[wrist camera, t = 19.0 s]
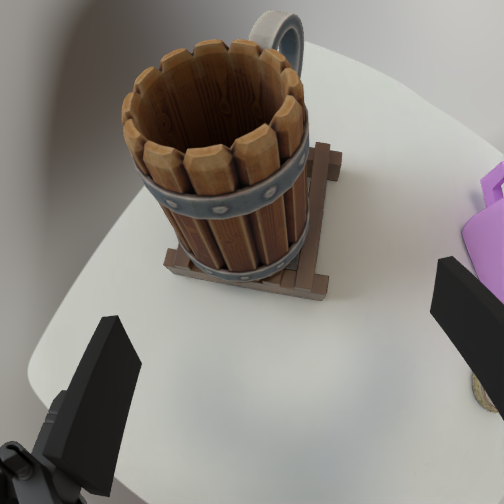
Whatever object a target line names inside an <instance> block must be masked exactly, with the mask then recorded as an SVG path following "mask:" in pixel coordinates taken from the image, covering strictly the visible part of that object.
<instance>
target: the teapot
mask: <svg viewBox="0 0 504 504" xmlns="http://www.w3.org/2000/svg"><path fill="white" fill-rule="evenodd" d="M480 181H481V186H482V190H483V195H484V200H485V205H486V208H485V209H483V210H482V211H480V212H479V213H477V214H476V215H475V216H473V217H472V218H471V219H470V220H469V221H468V222H467V223H466V225H465V227H464V228H463V231H462V235H463V239H464V242H465V244H466V247H467V250H468V252H469V255H470V258H471V260H472V263H473V265H474V268H475V270H476V273H477V275H478V278H479V280H480V282H481V283H482V284H484V285H485V286H486V287H487V288H488V289H489V290H490V291H491V292H492V293H493V294H494V295H495V296H496V297H497V298H498V299H499V300H500V301H501V302H502V303H503V304H504V197H503V192H502V188H501V185H502V184H503V183H504V161H502V162H501V163H500V164H499V165H497V166H496V167H495V168H494V169H493V170H492V171H490V172H489V173H488V174H487V175H486V176H485V177H483V178H482V179H481V180H480Z"/></svg>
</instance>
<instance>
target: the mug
mask: <svg viewBox="0 0 504 504" xmlns="http://www.w3.org/2000/svg"><path fill="white" fill-rule="evenodd" d="M278 46H279V52H278V51H277V49H278ZM303 51H304V32H303V26H302V23H301V20H300V18H299V17H298V16H297V15H295V14H290V13H285V12H279V11H272V10H270V11H267V12H265V13H264V14H263V15H261V16H260V17H259V19H258V20H257V21H256V23H255V24H254V26H253V28H252V30H251V32H250V34H249V38H248V40H242V39H238V40H233V41H232V43H231V46H230V48H229V47H227V45H226V44H225V43H224V42H223V41H222V40H218V39H214V40H208V41H202V42H200V43H198V44H196V45H195V47H194V50H193V53H192V54H191V53H190V52H189V51H187V50H186V49H184V48H183V49H177V50H175V51H173V52H171V53H169V54H167V55H165V56H164V57H163V58H162V59H161V61H160V68H159V70H158V69H156V68H155V67H150V68H148V69H146V70H145V71H143V72H142V73H141V74H140V75H139V77H138V78H137V79H136V80H135V85H134V89H133V92H130V93H129V94H128V95H127V96H126V97H125V99H124V102H123V106H122V124H123V126H124V129H123V134H124V138H125V141H126V144H127V146H128V148H129V150H130V153H131V156H132V159H133V162H134V165H135V168H136V170H137V172H138V173H139V175H140V177H141V179H142V181H143V182H144V184H145V186H146V188H147V189H148V190H149V191H150V193H151V194H152V195H153V196H154V197H155V199H156V200H157V201H158V202H159V204H160V206H161V207H162V209H163V211H164V213H165V214H166V216H167V218H168V220H169V221H170V223H171V225H172V226H173V228H174V230H175V233H176V235H177V238H178V240H179V242H180V245H181V246H182V248H183V250H184V251H185V253H186V254H187V255H188V257H189V258H190V259H191V260H192V261H193V263H194V264H195V265H196V266H197V267H199V268H200V269H202V270H203V271H204V272H206V273H207V274H209V275H210V276H213V277H216V278H218V279H221V280H224V281H225V280H226V281H234V282H235V283H249V282H255V281H259V280H260V279H262V278H266V277H271V276H273V275H274V274H276V273H278V272H280V271H281V270H282V269H284V268H285V267H286V266H287V265H288V264H290V261H291V260H293V259H294V258H295V256H296V255H297V254H298V252H299V250H300V249H301V247H302V246H303V244H304V242H305V239H306V236H307V232H308V229H309V198H308V195H307V163H306V160H307V157H308V154H309V122H308V110H307V108H306V106H305V103H304V89H303V84H302V82H301V80H300V77H301V70H302V62H303Z"/></svg>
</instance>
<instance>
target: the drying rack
mask: <svg viewBox="0 0 504 504" xmlns="http://www.w3.org/2000/svg"><path fill="white" fill-rule="evenodd" d="M341 162H342V152H337V151H331V150H330V144H327V143H320V142H316V144H315V148H312V147H309V154H308V157H307V160H306V163H307V176H309V177H311V182H310V189H309V196H308V198H309V229H308V232H307V236H306V239H305V242H304V244H303V246H302V247H301V249H300V255H299V261H298V267H297V271H296V270H290V269H282V270H281V271H280V272H278V273H276V274H274V275H273V276H271V277H266V278H262V279H260V280H259V281H255V282H249V283H235V282H234V281H226V280H225V281H224V280H221V279H218V278H216V277H213V276H210V275H209V274H207V273H206V272H204V271H203V270H202V269H200V268H199V267H197V266H196V265H195V264H194V263H193V261H192V260H191V259H190V258H189V257H188V255H187V254H186V253H185V251H184V250H183V248H182V246H181V245H180V242H179V245H178V248H177V250H175V249H169V248H168V250H167V253H166V257H165V260H164V264H163V265H164V266H165V267H166V268H167V269H169V270H170V271H171V272H172V273H174V274H177V275H182V276H187V277H192V278H197V279H202V280H207V281H213V282H218V283H223V284H228V285H234V286H239V287H244V288H250V289H255V290H261V291H266V292H272V293H278V294H283V295H289V296H295V297H301V298H307V299H313V300H319V301H322V300H323V298H324V297H325V296H326V294H327V288H328V281H329V276H326V275H320V274H314V273H315V267H316V260H317V253H318V246H319V239H320V231H321V224H322V216H323V208H324V200H325V191H326V182H327V180H333V181H337V179H338V175H339V172H340V168H341Z"/></svg>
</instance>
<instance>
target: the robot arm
mask: <svg viewBox="0 0 504 504" xmlns="http://www.w3.org/2000/svg"><path fill="white" fill-rule="evenodd" d="M430 313H431V314H432V316H433V317H434V318H435V320H436V321H437V322H438V324H439V325H440V326H441V328H442V329H443V330H444V332H445V333H446V334H447V336H448V337H449V338H450V340H451V341H452V343H453V344H454V345H455V347H456V348H457V350H458V351H459V352H460V354H461V355H462V357H463V358H464V360H465V361H466V362H467V364H468V365H469V367H470V368H471V370H472V371H473V373H474V374H475V376H476V377H477V379H478V380H479V382H480V383H481V385H482V386H483V388H484V389H485V391H486V393H487V394H488V396H489V397H490V399H491V400H492V402H493V404H494V405H495V407H496V409H497V410H498V412H499V413H500V415H501V417H502V418H503V420H504V304H503V303H502V302H501V301H500V300H499V299H498V298H497V297H496V296H495V295H494V294H493V293H492V292H491V291H490V290H489V289H488V288H487V287H486V286H485V285H484V284H482V283H481V282H480V281H479V280H478V279H477V278H476V277H475V276H474V275H473V274H472V273H471V272H470V271H469V270H467V269H466V268H465V267H464V266H463V265H462V264H461V263H460V262H459V261H457V260H456V259H455V258H454V257H453V256H450V257H446V258H441V259H438V265H437V273H436V280H435V286H434V292H433V298H432V304H431V309H430ZM141 365H142V363H141V361H140V359H139V357H138V355H137V353H136V351H135V349H134V347H133V345H132V343H131V341H130V339H129V337H128V335H127V333H126V331H125V329H124V327H123V325H122V323H121V321H120V319H119V317H118V315H116V316H108V317H102V318H101V320H100V322H99V324H98V326H97V328H96V330H95V332H94V334H93V336H92V338H91V340H90V342H89V344H88V346H87V348H86V350H85V352H84V355H83V357H82V359H81V361H80V363H79V365H78V367H77V369H76V372H75V374H74V376H73V378H72V380H71V383H70V385H69V387H68V389H67V390H62V391H61V392H60V393H59V394H58V395H57V396H56V398H55V399H54V400H53V402H52V404H51V406H50V409H49V414H47V416H46V418H45V423H43V425H42V428H41V430H40V433H39V435H38V438H37V440H36V443H35V445H34V448H33V451H32V453H31V454H30V453H29V452H28V451H27V450H26V449H25V448H24V447H23V446H22V445H20V444H19V443H18V442H15V441H10V442H7V443H5V444H4V445H2V446H1V447H0V504H87V502H86V500H85V498H84V497H83V496H82V495H81V494H80V491H81V487H82V488H84V489H85V490H86V491H88V492H89V493H91V494H95V495H100V496H106V497H110V492H111V487H112V482H113V477H114V472H115V468H116V463H117V459H118V454H119V450H120V445H121V441H122V437H123V433H124V429H125V425H126V421H127V417H128V413H129V409H130V405H131V401H132V397H133V394H134V390H135V386H136V383H137V379H138V376H139V372H140V369H141Z"/></svg>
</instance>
